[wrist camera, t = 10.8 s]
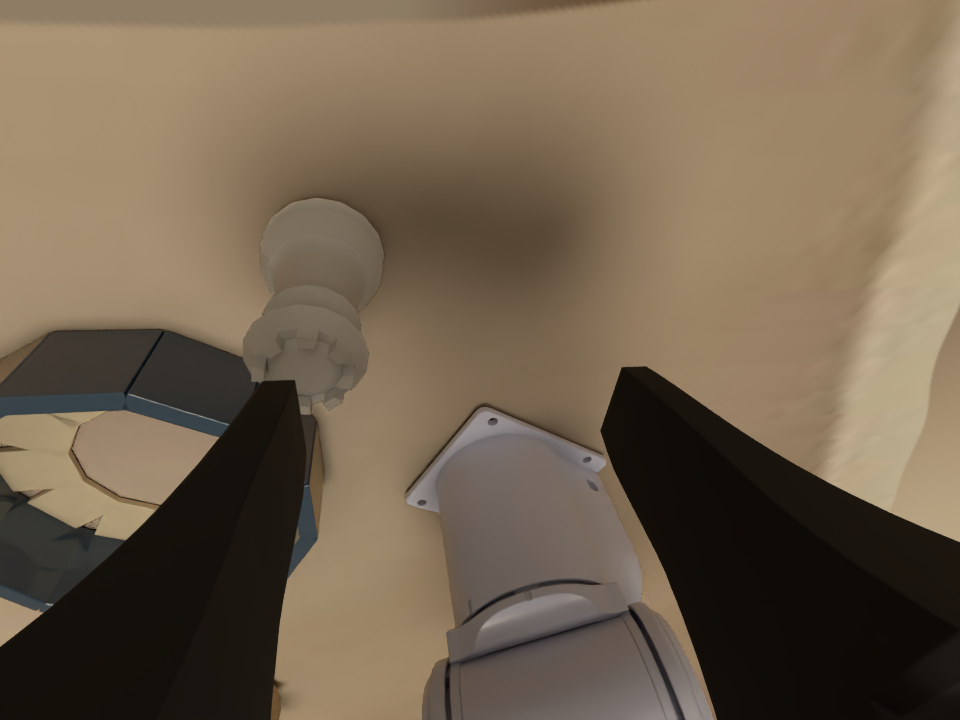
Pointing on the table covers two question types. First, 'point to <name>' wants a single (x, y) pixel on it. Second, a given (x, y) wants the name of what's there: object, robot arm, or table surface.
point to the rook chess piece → (315, 300)
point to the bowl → (81, 397)
